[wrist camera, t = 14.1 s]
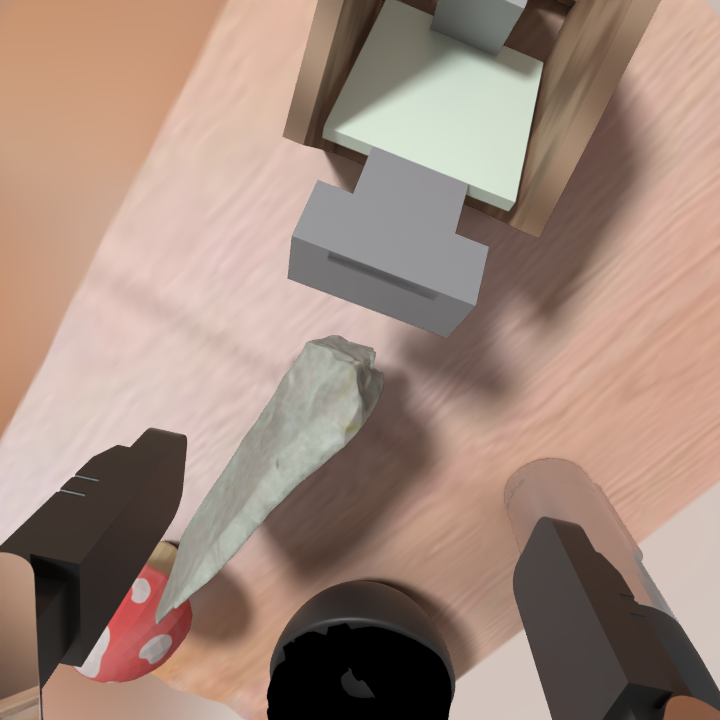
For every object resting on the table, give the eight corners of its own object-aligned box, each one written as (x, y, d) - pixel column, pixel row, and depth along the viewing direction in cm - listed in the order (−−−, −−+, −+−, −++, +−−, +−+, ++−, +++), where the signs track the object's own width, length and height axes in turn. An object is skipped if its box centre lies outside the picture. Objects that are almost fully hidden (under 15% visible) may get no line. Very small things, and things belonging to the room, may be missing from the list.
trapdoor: (462, 343, 27) (493, 312, 23) (271, 272, 26) (272, 228, 23) (515, 109, 36) (544, 60, 33) (375, 51, 35) (388, -6, 32)
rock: (341, 284, 42) (297, 374, 24) (395, 322, 43) (392, 437, 25) (209, 470, 52) (105, 637, 33) (256, 498, 53) (180, 674, 34)
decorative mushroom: (128, 490, 54) (35, 600, 40) (233, 532, 55) (178, 654, 41) (104, 563, 59) (15, 684, 45) (202, 601, 60) (143, 730, 46)
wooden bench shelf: (492, 214, 39) (539, 237, 26) (322, 147, 38) (282, 136, 25) (594, -6, 32) (722, -121, 20) (393, -94, 31) (390, -276, 19)
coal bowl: (467, 637, 59) (496, 832, 42) (329, 667, 63) (303, 854, 46) (412, 523, 52) (419, 698, 35) (262, 565, 57) (202, 738, 39)
